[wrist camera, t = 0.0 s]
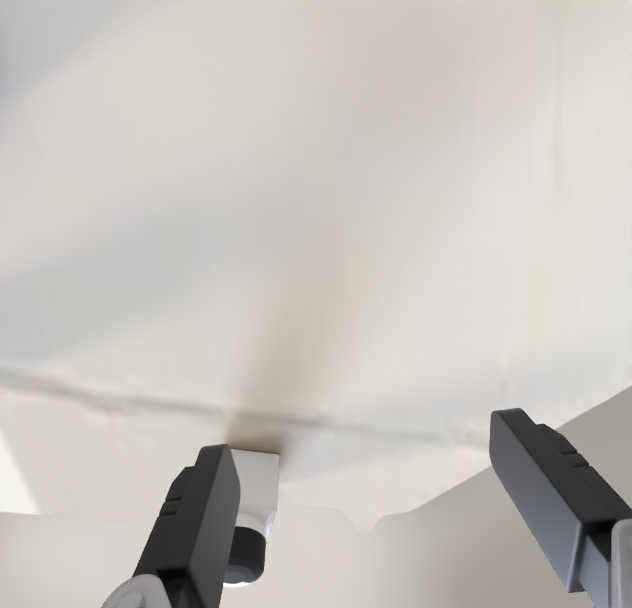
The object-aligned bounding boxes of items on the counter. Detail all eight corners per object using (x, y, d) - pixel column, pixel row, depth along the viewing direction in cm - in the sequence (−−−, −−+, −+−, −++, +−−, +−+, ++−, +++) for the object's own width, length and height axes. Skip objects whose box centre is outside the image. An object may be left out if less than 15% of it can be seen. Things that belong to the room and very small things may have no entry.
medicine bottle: (222, 446, 43) (197, 556, 33) (280, 453, 44) (274, 561, 34) (216, 482, 47) (192, 592, 36) (271, 488, 48) (263, 597, 37)
